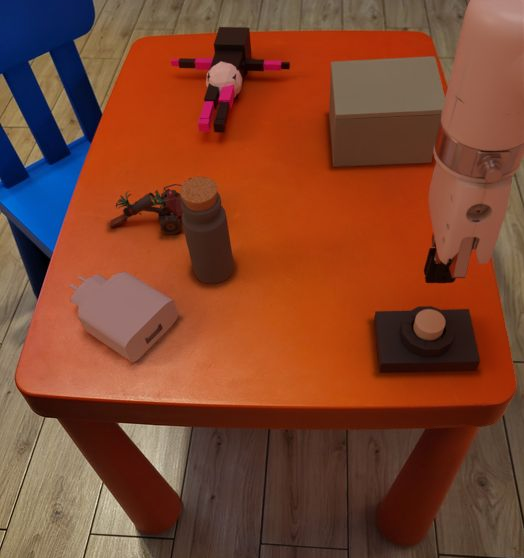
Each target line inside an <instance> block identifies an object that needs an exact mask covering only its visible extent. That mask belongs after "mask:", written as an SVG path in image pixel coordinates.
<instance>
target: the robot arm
mask: <svg viewBox="0 0 524 558" xmlns="http://www.w3.org/2000/svg"><path fill="white" fill-rule="evenodd" d="M433 158H434V160H435V165H434V169H433V172H432V176H431V180H430V185H429V189H428V190H429V191H428V207H429V209H428V210H429V215H430V221H431V227H432V235H431V247H429V250H428V252H427V257H426V260H425V263H424V267H423V275H424V281H425V283H426V284H452V283H455V282H456V279H466V276H467V273H468V269H469V265H470V261H471V256H472V252H473V250H474V253H475V257H476V260H477V265H487V264H488V263H489V262H490V260H491V259H492V255H493V252H494V250H495V247H496V244H497V242H498V239H499V235H500V233H501V229H502V227H503V222H504V219H505V216H506V213H507V208H508V205H509V199H510V195H511V190H512V182H513V177H512V176H513V175H515V173H516V172H517V171H518V170H519V168H520V167H521V164H522V162H523V159H524V0H469V1H468V4H467V5H466V9H465V13H464V16H463V20H462V25H461V29H460V33H459V38H458V42H457V47H456V50H455V54H454V59H453V63H452V68H451V72H450V77H449V79H448V85H447V88H446V93H445V101H444V106H443V110H442V114H441V118H440V122H439V127H438V131H437V135H436V140H435V144H434V149H433Z"/></svg>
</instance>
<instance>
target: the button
mask: <svg viewBox="0 0 524 558" xmlns="http://www.w3.org/2000/svg"><path fill="white" fill-rule="evenodd" d="M444 327H445V318H444V316H443V315H442V314H441V313H440V312H438V311H436V310H432V309H426V310H422V311H420V312H419V313H418V314H417V315H416V318H415V322H414V326H413V329H414V332H415V334H416V335H417V336H418V337H419V338H421V339H423V340H426V341H433V340H436V339H438V338H439V337H440V336H441V335H442V333H443V330H444Z"/></svg>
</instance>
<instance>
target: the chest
mask: <svg viewBox="0 0 524 558" xmlns="http://www.w3.org/2000/svg"><path fill="white" fill-rule="evenodd" d="M329 76H330V79H329V80H330V81H329V103H328V105H329V107H328V108H329V109H328V117H329V118H328V119H329V130H330V131H329V132H330V142H331V144H330V145H331V156H332V167H336V168H337V167H358V166H359V167H361V166H381V165H382V166H384V165H387V166H388V165H408V164H409V165H410V164H431V163H432V161H433V158H434V153H433V149H434V144H435V140H436V135H437V131H438V127H439V122H440V118H441V114H436V115H415V116H394V117H373V118H352V119H335V109H334V97H333V85H332V73H331V72H330V75H329Z"/></svg>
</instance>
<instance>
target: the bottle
mask: <svg viewBox="0 0 524 558" xmlns="http://www.w3.org/2000/svg"><path fill="white" fill-rule="evenodd" d="M190 178H191V179H189V178H188V179H189V180H188V179H187V180H185V181H186V182H185V181H184V182H183V183H182V184H181V185H182V186H180V188H179V193H180V195H181V197H182V199H181V207H182V211H183V213H182V215H181V225H182V227H183V234H184V237H185V241H186V245H187V249H188V253H189V258H190V261H191V267H192V270H193V273H194V275H195V277H196V279H198V280H199V281H200V282H202V283H204V284H208V285H209V284H210V285H213V284H215V285H216V284H220V283H223V282H225V281H226V280H227V279H228V278H230V277H231V275H232V274H233V272H234V268H235V267H234V258H233V252H232V251H233V250H232V244H231V237H230V231H229V224H228V217H227V213H226V210H225V207H224V206H223V205H222V197H221V194H220V193H219V192H218V184H217V182H216V181H215V180H214V179H212V178H210V177H207V176H195V177H190Z"/></svg>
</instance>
